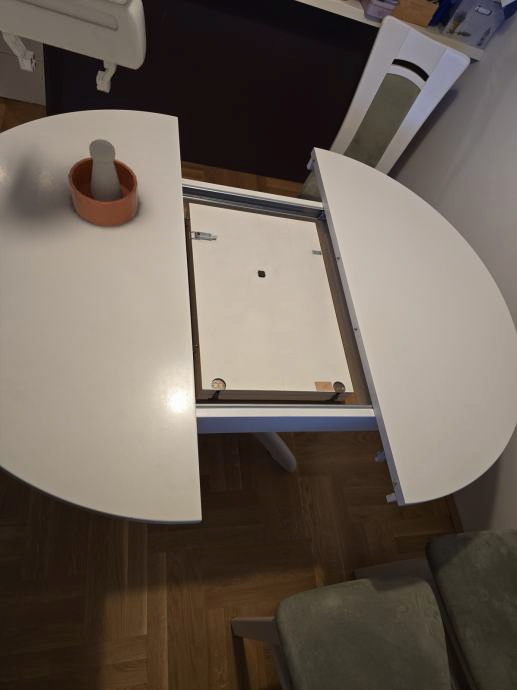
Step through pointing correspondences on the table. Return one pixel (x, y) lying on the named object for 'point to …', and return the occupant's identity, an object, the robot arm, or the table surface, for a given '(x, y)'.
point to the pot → (99, 210)
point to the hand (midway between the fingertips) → (67, 79)
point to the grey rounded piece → (104, 172)
